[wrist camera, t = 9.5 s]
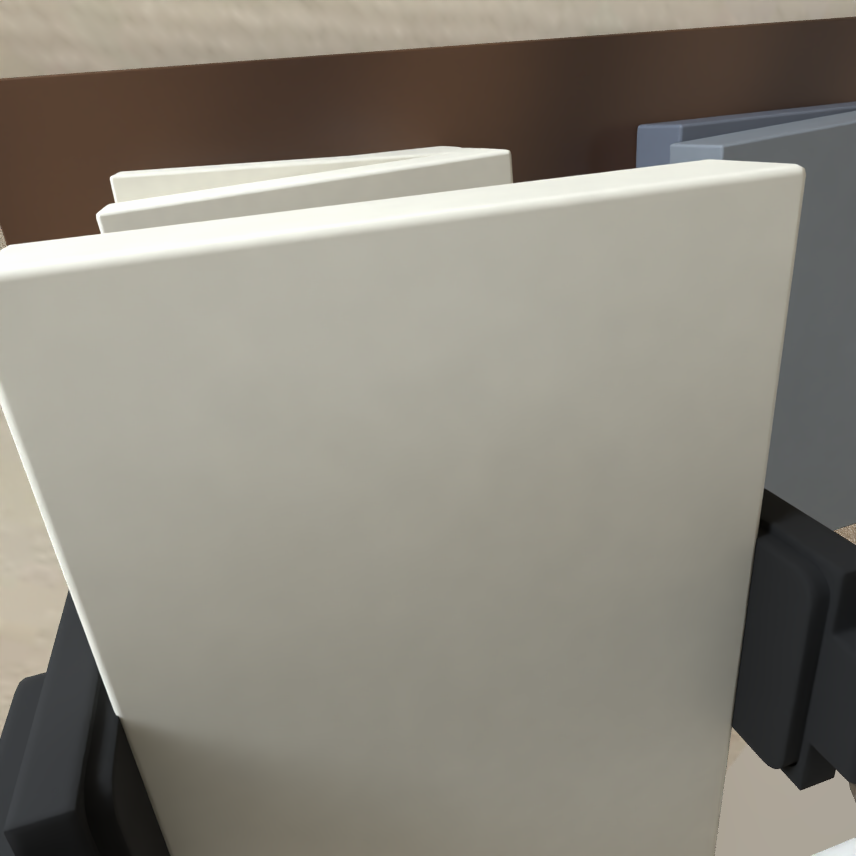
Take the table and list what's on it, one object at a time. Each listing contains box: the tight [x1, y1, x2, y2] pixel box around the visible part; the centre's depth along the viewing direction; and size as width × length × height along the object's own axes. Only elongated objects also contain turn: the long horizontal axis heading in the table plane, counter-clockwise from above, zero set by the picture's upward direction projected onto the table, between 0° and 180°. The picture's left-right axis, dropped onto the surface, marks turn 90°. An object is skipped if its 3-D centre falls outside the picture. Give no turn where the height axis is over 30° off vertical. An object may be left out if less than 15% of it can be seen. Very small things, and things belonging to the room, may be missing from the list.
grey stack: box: [636, 102, 856, 531], centre depth 19 cm, size 7×11×4 cm, turn 6°
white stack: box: [96, 146, 513, 234], centre depth 16 cm, size 8×11×4 cm, turn 5°
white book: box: [0, 159, 806, 856], centre depth 8 cm, size 7×11×1 cm, turn 5°
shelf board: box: [0, 17, 856, 246], centre depth 19 cm, size 24×15×1 cm, turn 95°
